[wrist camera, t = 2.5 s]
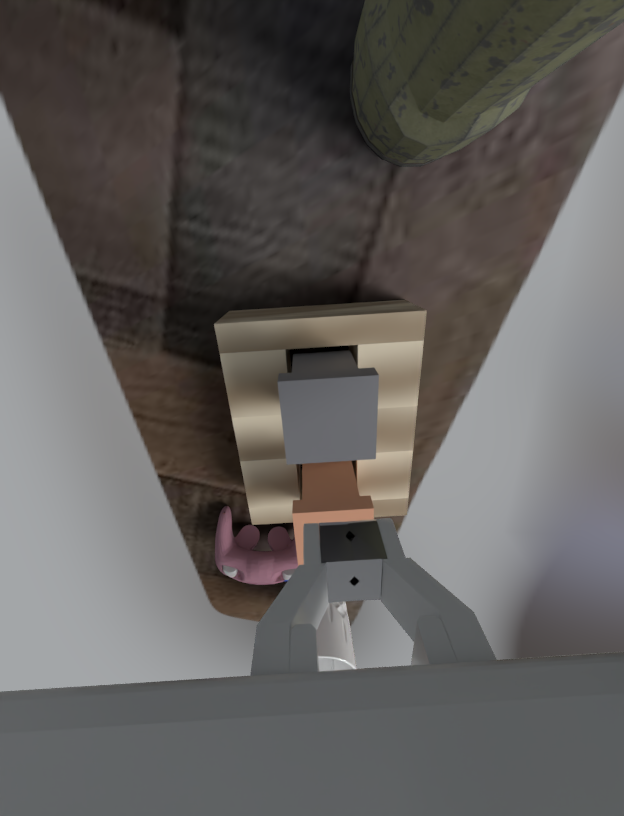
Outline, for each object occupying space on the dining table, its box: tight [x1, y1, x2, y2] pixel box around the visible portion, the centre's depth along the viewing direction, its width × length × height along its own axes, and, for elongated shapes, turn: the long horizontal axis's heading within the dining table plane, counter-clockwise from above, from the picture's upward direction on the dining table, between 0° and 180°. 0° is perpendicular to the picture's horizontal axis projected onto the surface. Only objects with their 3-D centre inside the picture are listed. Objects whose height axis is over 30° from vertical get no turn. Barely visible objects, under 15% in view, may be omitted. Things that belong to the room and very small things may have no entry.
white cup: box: [316, 601, 357, 671], centre depth 36 cm, size 8×8×10 cm
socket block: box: [214, 300, 427, 525], centre depth 27 cm, size 18×14×5 cm
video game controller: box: [215, 506, 298, 585], centre depth 34 cm, size 10×5×7 cm, turn 84°
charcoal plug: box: [277, 350, 379, 465], centre depth 21 cm, size 5×5×7 cm
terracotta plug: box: [292, 461, 374, 566], centre depth 25 cm, size 5×5×7 cm
